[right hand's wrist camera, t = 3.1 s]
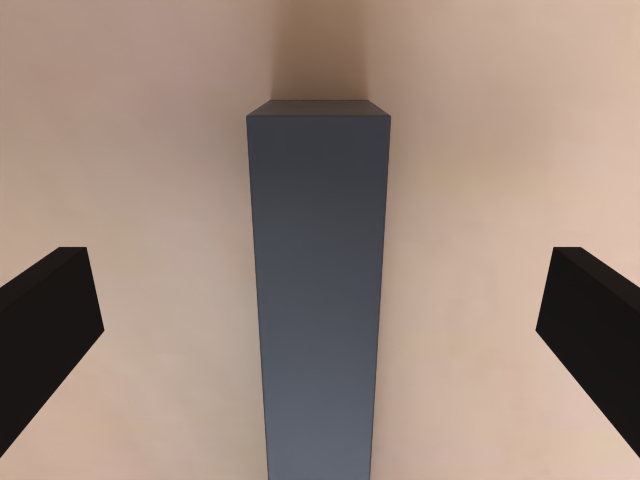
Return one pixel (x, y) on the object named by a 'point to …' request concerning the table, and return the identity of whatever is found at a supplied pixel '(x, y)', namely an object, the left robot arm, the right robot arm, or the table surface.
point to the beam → (318, 279)
